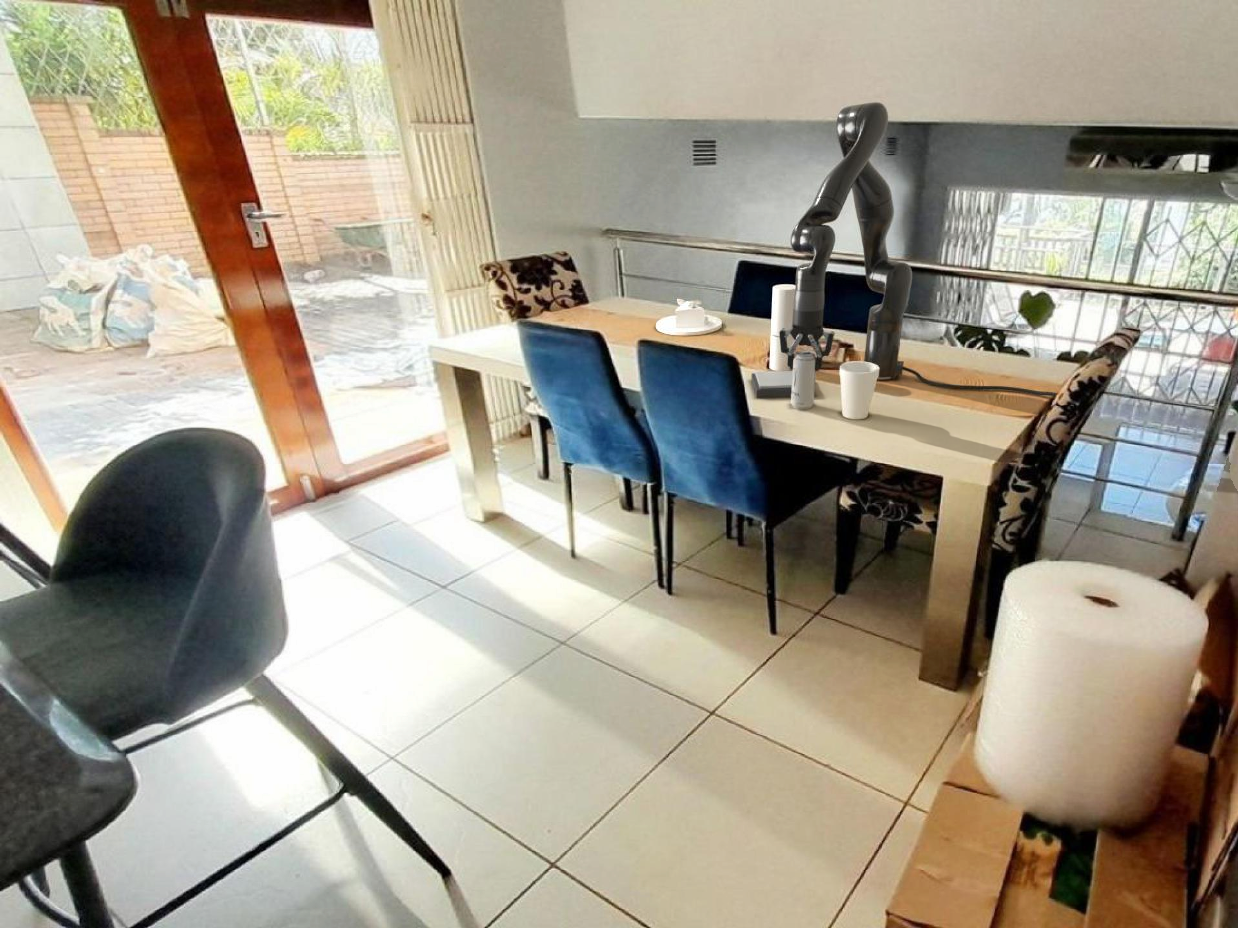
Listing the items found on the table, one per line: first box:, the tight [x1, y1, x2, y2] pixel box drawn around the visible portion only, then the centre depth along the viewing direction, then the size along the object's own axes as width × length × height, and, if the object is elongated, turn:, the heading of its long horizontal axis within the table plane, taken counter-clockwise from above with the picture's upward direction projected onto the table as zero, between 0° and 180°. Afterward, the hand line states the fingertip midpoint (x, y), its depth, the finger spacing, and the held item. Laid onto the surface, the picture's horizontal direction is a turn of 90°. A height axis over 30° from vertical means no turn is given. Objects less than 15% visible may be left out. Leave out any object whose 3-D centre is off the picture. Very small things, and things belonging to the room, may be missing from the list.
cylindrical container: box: [769, 283, 796, 371], centre depth 214 cm, size 7×7×25 cm
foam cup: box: [839, 360, 879, 420], centre depth 181 cm, size 10×9×13 cm
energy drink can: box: [790, 349, 817, 411], centre depth 187 cm, size 6×6×15 cm
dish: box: [655, 298, 723, 337], centre depth 264 cm, size 25×25×11 cm
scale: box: [750, 370, 816, 399], centre depth 203 cm, size 16×14×3 cm
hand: (804, 369), depth 186 cm, fingers closed on energy drink can, 6 cm apart
